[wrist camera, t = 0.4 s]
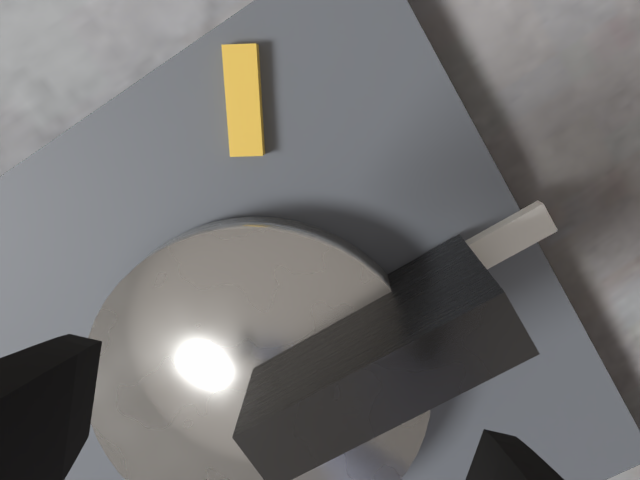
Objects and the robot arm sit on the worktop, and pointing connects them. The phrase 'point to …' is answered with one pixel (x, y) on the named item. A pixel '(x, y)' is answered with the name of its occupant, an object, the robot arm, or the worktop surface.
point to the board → (309, 208)
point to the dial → (290, 354)
